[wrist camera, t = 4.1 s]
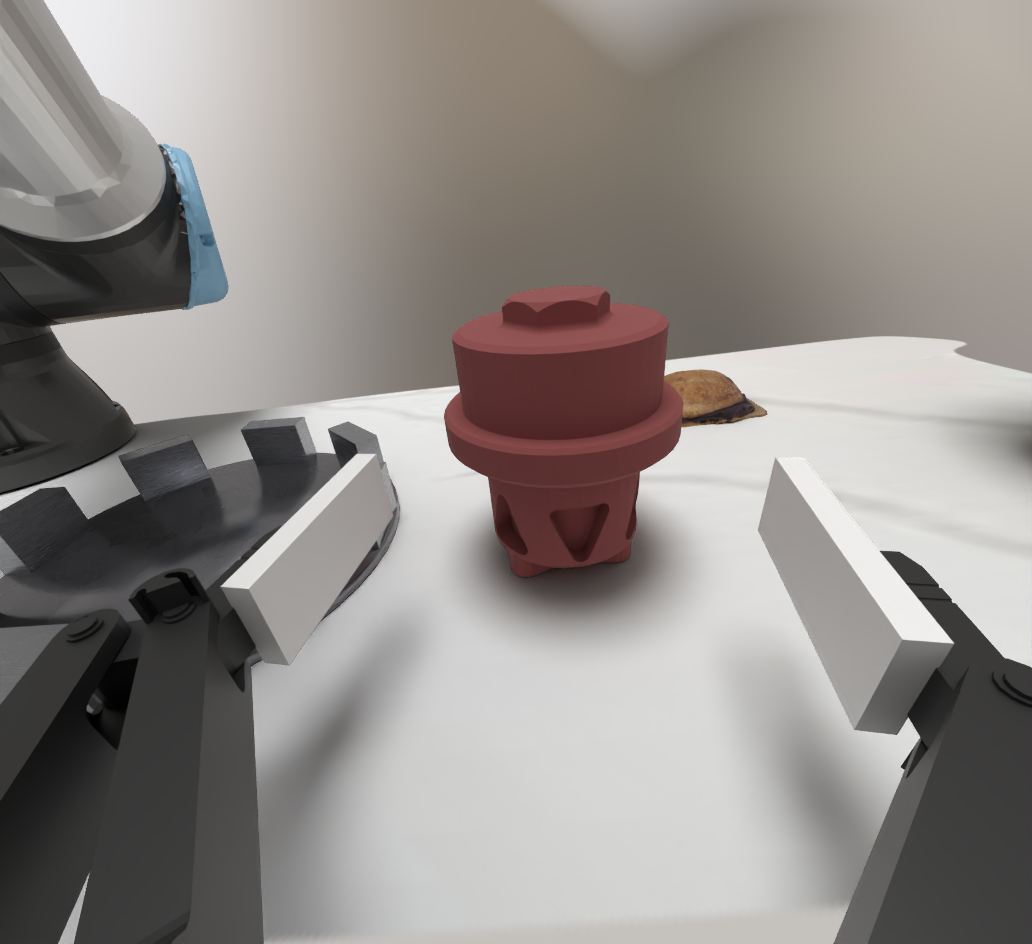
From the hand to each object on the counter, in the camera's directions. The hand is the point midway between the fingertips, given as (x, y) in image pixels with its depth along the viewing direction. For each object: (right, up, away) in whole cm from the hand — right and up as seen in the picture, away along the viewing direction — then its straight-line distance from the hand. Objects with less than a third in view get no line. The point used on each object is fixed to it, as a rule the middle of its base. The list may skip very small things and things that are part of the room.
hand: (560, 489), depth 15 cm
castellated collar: (-19, -4, +10) cm, 22 cm away
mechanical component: (+1, -3, +8) cm, 9 cm away
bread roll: (+13, +6, +23) cm, 27 cm away
